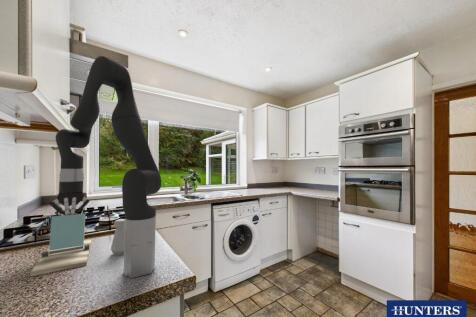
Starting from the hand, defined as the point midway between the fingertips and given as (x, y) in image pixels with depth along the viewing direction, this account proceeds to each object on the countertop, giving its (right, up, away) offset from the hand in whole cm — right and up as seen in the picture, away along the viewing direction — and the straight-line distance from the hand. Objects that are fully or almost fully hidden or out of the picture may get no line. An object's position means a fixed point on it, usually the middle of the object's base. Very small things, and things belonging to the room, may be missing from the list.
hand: (70, 224), depth 81 cm
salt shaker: (+20, -11, -1) cm, 23 cm away
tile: (+1, -3, -2) cm, 4 cm away
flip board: (+2, -11, -4) cm, 11 cm away
